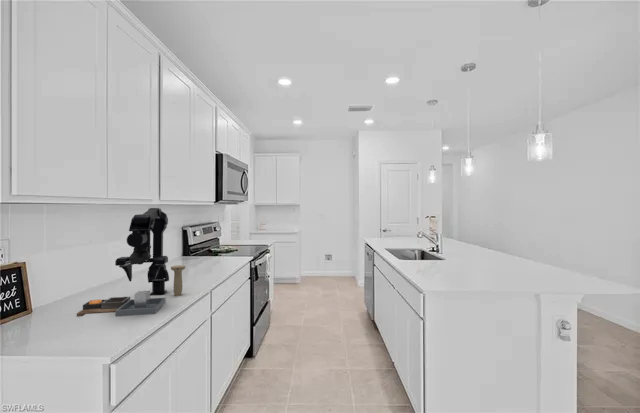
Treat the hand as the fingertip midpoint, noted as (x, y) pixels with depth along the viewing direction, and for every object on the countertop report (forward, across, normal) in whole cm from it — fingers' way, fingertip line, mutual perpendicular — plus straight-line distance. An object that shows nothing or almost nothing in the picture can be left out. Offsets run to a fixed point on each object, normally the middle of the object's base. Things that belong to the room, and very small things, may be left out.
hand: (142, 280), depth 129 cm
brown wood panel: (+13, -16, +6) cm, 21 cm away
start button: (+11, -20, +5) cm, 24 cm away
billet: (+12, 0, 0) cm, 12 cm away
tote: (+13, 0, 0) cm, 13 cm away
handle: (+13, +10, +18) cm, 25 cm away
